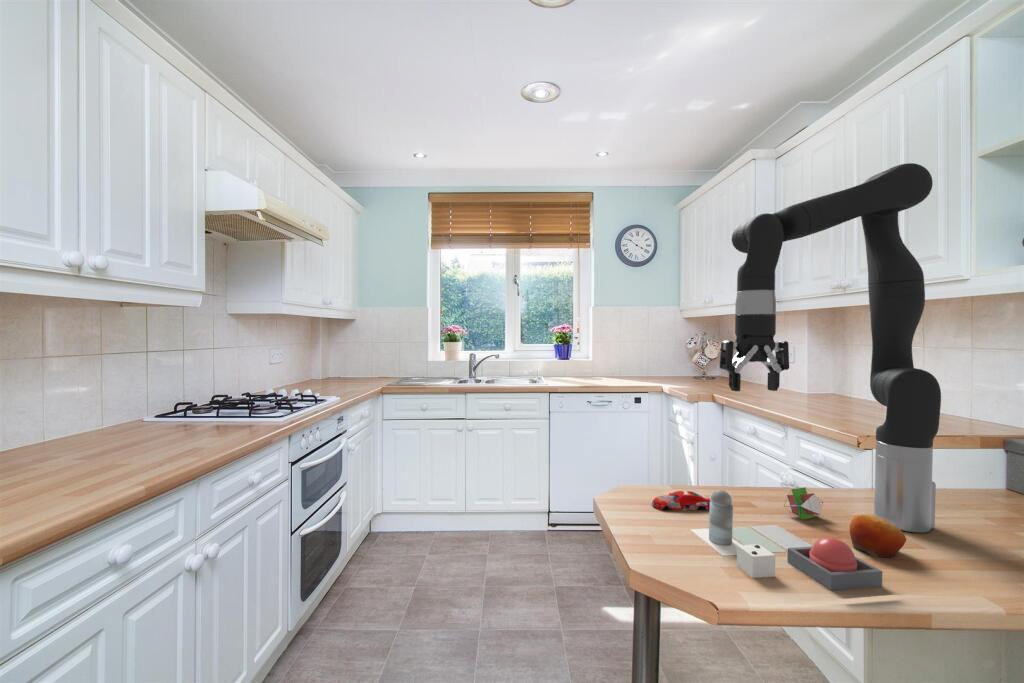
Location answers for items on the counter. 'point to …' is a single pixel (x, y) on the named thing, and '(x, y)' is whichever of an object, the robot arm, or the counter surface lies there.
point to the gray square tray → (835, 580)
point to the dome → (833, 555)
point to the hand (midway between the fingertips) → (754, 390)
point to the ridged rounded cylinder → (721, 518)
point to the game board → (755, 539)
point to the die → (756, 560)
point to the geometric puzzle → (804, 503)
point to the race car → (681, 501)
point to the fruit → (876, 536)
